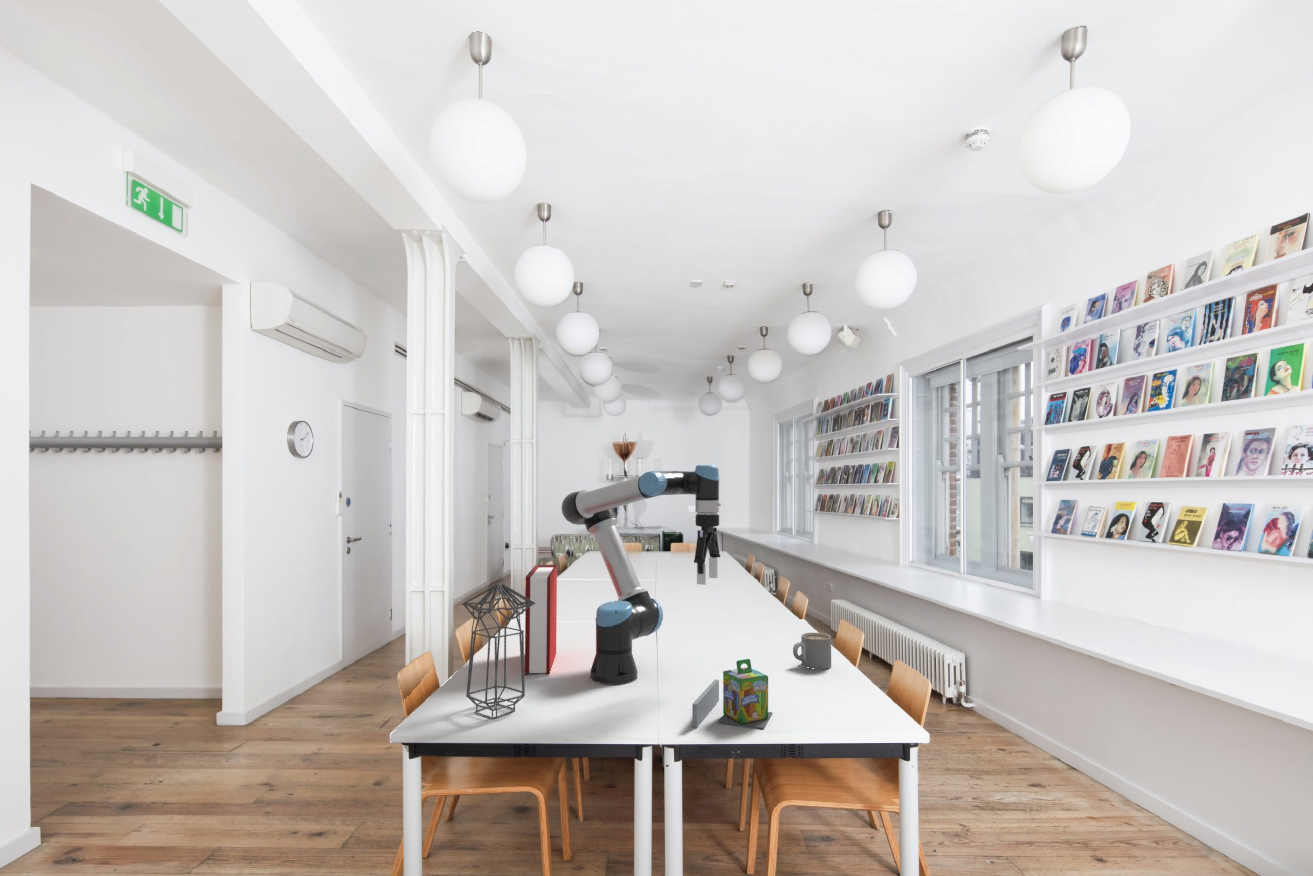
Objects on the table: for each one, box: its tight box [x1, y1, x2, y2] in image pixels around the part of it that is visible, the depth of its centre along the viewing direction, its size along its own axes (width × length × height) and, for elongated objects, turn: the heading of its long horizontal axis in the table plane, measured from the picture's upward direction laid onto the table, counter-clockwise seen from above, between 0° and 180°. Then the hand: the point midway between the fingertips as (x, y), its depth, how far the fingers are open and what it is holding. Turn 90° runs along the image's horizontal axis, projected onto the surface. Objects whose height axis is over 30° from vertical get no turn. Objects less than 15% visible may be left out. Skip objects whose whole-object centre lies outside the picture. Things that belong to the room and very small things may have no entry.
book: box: [524, 564, 558, 676], centre depth 234 cm, size 27×8×32 cm, turn 4°
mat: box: [717, 711, 773, 730], centre depth 181 cm, size 12×12×1 cm
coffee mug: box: [792, 632, 832, 670], centre depth 231 cm, size 13×10×10 cm
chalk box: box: [722, 658, 769, 724], centre depth 182 cm, size 9×9×15 cm
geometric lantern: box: [461, 583, 535, 720], centre depth 188 cm, size 16×16×35 cm
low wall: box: [691, 679, 720, 729], centre depth 185 cm, size 1×22×6 cm, turn 160°
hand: (707, 581), depth 213 cm, fingers open, 13 cm apart
